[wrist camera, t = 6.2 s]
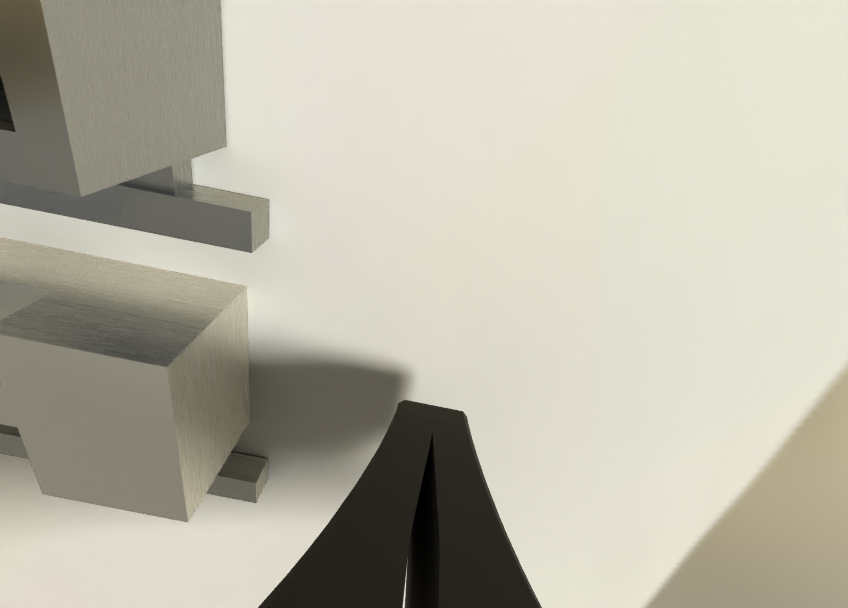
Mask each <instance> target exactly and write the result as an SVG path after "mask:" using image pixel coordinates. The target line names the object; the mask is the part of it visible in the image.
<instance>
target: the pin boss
mask: <svg viewBox="0 0 848 608" xmlns="http://www.w3.org/2000/svg"><path fill="white" fill-rule="evenodd" d="M0 74H1V77H0V181H4V182H9V183H14V184H19V185H24V186H29V187H34V188H39V189H44V190H49V191H54V192H59V193H64V194H69V195H74V196H79V197H82V196H85V195H88V194H91V193H94V192H97V191H100V190H103V189H105V188H108V187H111V186H114V185H117V184H120V183H123V182H125V183H130V184H135V185H140V186H145V187H150V188H155V189H160V190H165V191H170V192H177V191H179V190H182V189H184V188H186V187H188V186H191V185H193V181H192V168H191V159H192V158H195V157H197V156H200V155H203V154H206V153H209V152H212V151H215V150H218V149H220V148H223V147H226V123H225V99H224V76H223V52H222V28H221V5H220V0H0Z"/></svg>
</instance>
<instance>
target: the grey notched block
mask: <svg viewBox="0 0 848 608" xmlns="http://www.w3.org/2000/svg"><path fill="white" fill-rule="evenodd" d="M249 422H250V392H249V350H248V308H247V286H243V285H238V284H233V283H228V282H223V281H218V280H213V279H208V278H203V277H198V276H192V275H187V274H182V273H177V272H172V271H167V270H162V269H157V268H152V267H147V266H142V265H137V264H132V263H127V262H122V261H117V260H112V259H106V258H101V257H96V256H91V255H86V254H81V253H76V252H71V251H66V250H61V249H56V248H51V247H46V246H41V245H36V244H31V243H26V242H21V241H15V240H10V239H5V238H0V424H2V425H8V426H13V427H18V430H19V433H20V435H21V438H22V441H23V443H24V446H25V449H26V451H27V454H28V457H29V459H30V462H31V465H32V467H33V470H34V472H35V475H36V478H37V480H38V483H39V486H40V488H41V491H42V494H45V495H50V496H55V497H60V498H65V499H71V500H76V501H81V502H86V503H91V504H96V505H101V506H106V507H112V508H117V509H122V510H127V511H132V512H137V513H142V514H148V515H153V516H158V517H163V518H168V519H173V520H178V521H184V522H189V520H190V519H191V517H192V515H193V514H194V512H195V510H196V509H197V507H198V505H199V504H200V502H201V501H202V499H203V497H204V496H205V494H206V492H207V491H208V489H209V487H210V486H211V484H212V482H213V481H214V479H215V478H216V476H217V474H218V473H219V471H220V469H221V468H222V466H223V464H224V463H225V461H226V460H227V458H228V456H229V455H230V453H231V451H232V450H233V448H234V446H235V445H236V443H237V442H238V440H239V438H240V437H241V435H242V433H243V432H244V430H245V428H246V427H247V425H248V424H249Z"/></svg>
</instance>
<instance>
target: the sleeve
mask: <svg viewBox="0 0 848 608" xmlns="http://www.w3.org/2000/svg"><path fill="white" fill-rule="evenodd" d="M0 203H3V204H8V205H13V206H18V207H23V208H28V209H33V210H38V211H43V212H48V213H53V214H58V215H63V216H68V217H73V218H78V219H83V220H88V221H93V222H98V223H104V224H109V225H114V226H119V227H124V228H129V229H134V230H139V231H144V232H149V233H154V234H159V235H164V236H169V237H174V238H179V239H184V240H189V241H194V242H199V243H204V244H209V245H215V246H220V247H225V248H230V249H235V250H240V251H245V252H250V253H252V252H254V251H255V250H256V249H257V248H258V247H259V246H260V245H262V244H263V243H264V242H265V241H266V240H267V239H268V238H269V200H268V199H263V198H258V197H253V196H248V195H243V194H238V193H233V192H228V191H223V190H218V189H213V188H208V187H203V186H198V185H191V186H188V187H186V188H184V189H182V190H179V191H177V192H170V191H165V190H160V189H155V188H150V187H145V186H140V185H135V184H130V183H125V182H123V183H120V184H117V185H114V186H111V187H108V188H105V189H103V190H100V191H97V192H94V193H91V194H88V195H85V196H82V197H79V196H74V195H69V194H64V193H59V192H54V191H49V190H44V189H39V188H34V187H29V186H24V185H19V184H14V183H9V182H4V181H0ZM0 453H2V454H7V455H12V456H18V457H23V458H28V459H29V457H28V454H27V451H26V449H25V446H24V443H23V441H22V438H21V435H20V433H19V430H18V427H13V426H8V425H2V424H0ZM267 480H268V459H266V458H261V457H256V456H251V455H246V454H240V453H235V452H231V453H230V455H229V456H228V458H227V460H226V461H225V463H224V464H223V466H222V468H221V469H220V471H219V473H218V474H217V476H216V478H215V479H214V481H213V482H212V484H211V486H210V487H209V489H208V491H207V492H206V493H207V494H212V495H218V496H223V497H228V498H233V499H238V500H243V501H248V502H253V503H256V502H257V500H258V498H259V496H260V494H261V492H262V490H263V488H264V486H265V484H266V482H267Z"/></svg>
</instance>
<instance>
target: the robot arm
mask: <svg viewBox="0 0 848 608" xmlns="http://www.w3.org/2000/svg"><path fill="white" fill-rule="evenodd" d="M407 558H408V560H407ZM406 568H407V579H406V598H405V608H542V607H541V605H540V603H539V601H538V599H537V597H536V596H535V594H534V592H533V589H532V587H531V585H530V583H529V581H528V579H527V577H526V575H525V573H524V571H523V569H522V567H521V565H520V563H519V560H518V558H517V556H516V554H515V551H514V549H513V547H512V545H511V542H510V540H509V538H508V536H507V533H506V531H505V529H504V526H503V524H502V522H501V519H500V517H499V514H498V512H497V509H496V507H495V504H494V501H493V499H492V496H491V494H490V491H489V488H488V486H487V483H486V480H485V477H484V475H483V472H482V469H481V466H480V463H479V460H478V457H477V454H476V450H475V447H474V444H473V440H472V437H471V433H470V429H469V425H468V420H467V416H466V415H465V414H464V412H463V411H458V410H453V409H448V408H443V407H438V406H433V405H428V404H423V403H418V402H413V401H408V400H404V401H402V402H400V403H398V406H397V410H396V413H395V415H394V418H393V420H392V423H391V425H390V427H389V429H388V431H387V433H386V435H385V437H384V439H383V441H382V442H381V444H380V446H379V448H378V450H377V451H376V453H375V455H374V456H373V458H372V460H371V461H370V463H369V464H368V466H367V468H366V469H365V471H364V473H363V474H362V476H361V477H360V479H359V481H358V482H357V484H356V485H355V487H354V488H353V489H352V491H351V492H350V494H349V495H348V496H347V498H346V499H345V501H344V502H343V504H342V505H341V506H340V508H339V509H338V511H337V512H336V513H335V515H334V516H333V518H332V519H331V520H330V522H329V523H328V524H327V526H326V527H325V528H324V530H323V531H322V532H321V533H320V535H319V536H318V537H317V539H316V540H315V541H314V542H313V544H312V545H311V546H310V548H309V549H308V550H307V551H306V552H305V554H304V555H303V556H302V557H301V559H300V560H299V561H298V562H297V563H296V565H295V566H294V567H293V568H292V569H291V571H290V572H289V573H288V574H287V575H286V577H285V578H284V579H283V580H282V581H281V582H280V583H279V584H278V586H277V587H276V588H275V589H274V590H273V591H272V592H271V594H270V595H269V596H268V597H267V598H266V599H265V600H264V602H263V603H262V604H261V605H260V606H259V607H258V608H402V606H403V597H404V587H405V577H406Z"/></svg>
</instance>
